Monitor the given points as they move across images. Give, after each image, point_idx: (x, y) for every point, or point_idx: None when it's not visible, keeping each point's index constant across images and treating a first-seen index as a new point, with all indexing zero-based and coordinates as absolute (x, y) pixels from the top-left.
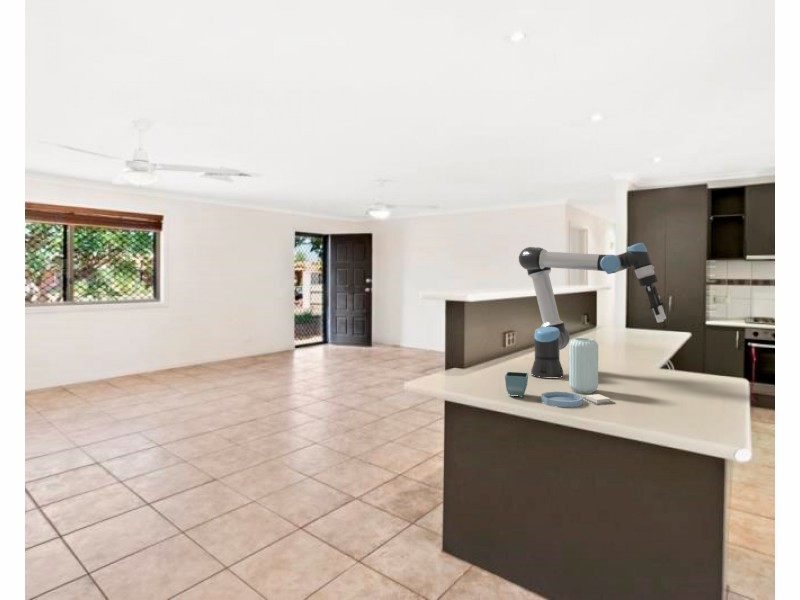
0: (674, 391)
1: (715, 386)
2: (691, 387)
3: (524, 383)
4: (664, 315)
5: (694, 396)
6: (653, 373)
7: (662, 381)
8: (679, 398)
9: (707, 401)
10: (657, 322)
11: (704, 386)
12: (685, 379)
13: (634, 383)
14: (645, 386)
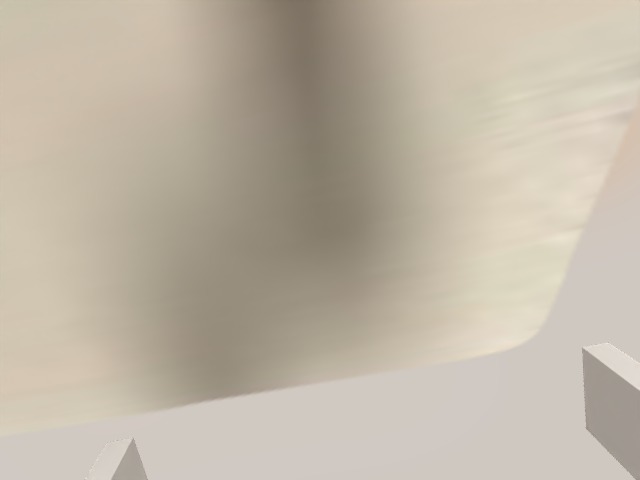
0: (120, 235)
1: (342, 317)
2: (259, 263)
3: None
4: (626, 458)
5: (97, 307)
6: (513, 27)
7: (306, 135)
8: (8, 280)
9: (57, 351)
10: (104, 449)
11: (315, 291)
12: (423, 205)
13: (137, 21)
14: (111, 100)
